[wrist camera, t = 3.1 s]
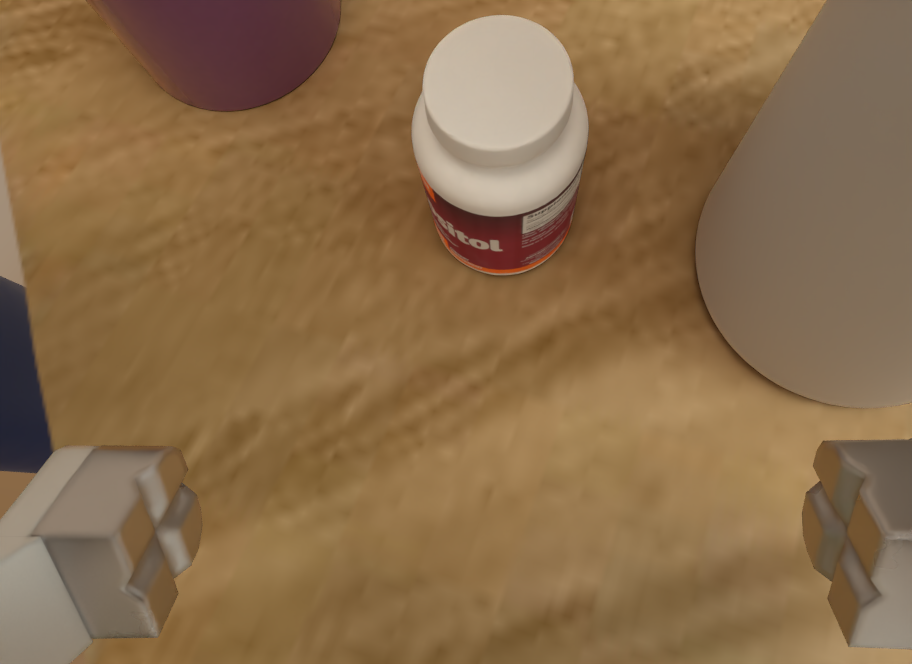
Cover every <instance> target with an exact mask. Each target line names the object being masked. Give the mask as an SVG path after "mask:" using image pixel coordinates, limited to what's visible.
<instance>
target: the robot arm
mask: <svg viewBox="0 0 912 664" xmlns="http://www.w3.org/2000/svg"><path fill="white" fill-rule="evenodd" d="M813 467H814V469H815V471H816V473H817V475H818V477H819V479H820V481H819V482H818V483H817V484H816V485H815V486H813V487H812V488H811V489H810V490H809V491H807V492H806V496H805V501H804V505H803V510H802V524H803V537H804V541H805V545H806V549H807V552H808V555H809V557H810V559H811V562H812V564H813V567H814V569H816V570H817V571H818V572H820V573H821V574H822V575H824V576H825V577H826V578H828V579H829V580H830V581H832V584H831V588H830V591H829V595H828V598H827V599H828V601H829V603H830V606H831V608H832V610H833V612H834V615H835V617H836V619H837V621H838V624H839V626H840V628H841V630H842V633H843V635H844V637H845V639H846V642H847V644H848V646H849V647H865V648H890V649H912V438H911V439H909V440H904V439H902V440H836V441H823V442H822V443H821V445H820V446H819V448H818V449H817V452H816V455H815V459H814V463H813ZM187 471H188V467H187V465H186V462H185V460H184V457H183V454H182V452H181V450H179V449H177V448H174V447H172V446H106V445H102V446H64V447H62V448H60V449H58V450H56V451H54V453H53V454H52V455H51V456H50V458H49V459H48V460H47V461H46V463H45V464H44V465H43V466H42V468H41V469H40V470H39V471H38V473H37V474H36V476H35V477H34V478H33V479H32V480H31V482H30V483H29V484H28V485H27V487H26V488H25V489H24V490H23V492H22V493H21V494H20V496H19V497H18V498H17V499H16V501H15V502H14V503H13V504H12V506H11V507H10V508H9V510H8V511H7V512H6V513H5V515H4V516H3V517H2V518H1V520H0V664H70V663H71V662H72V661H73V660H74V659H75V658H76V657H77V656H78V655H80V654H81V653H82V652H83V651H84V650H85V649H86V648H87V647H88V646H89V645H90V644H92V642H93V640H92V639H97V638H158V637H159V634H160V632H161V630H162V628H163V626H164V624H165V621H166V619H167V617H168V615H169V613H170V611H171V608H172V606H173V604H174V602H175V600H176V598H177V595H178V591H177V588H176V585H175V582H174V580H173V579H174V578H176V577H177V576H178V575H179V574H181V573H182V572H183V571H185V570H186V569H187V568H188V567H190V566H191V565H192V562H193V560H194V558H195V555H196V553H197V551H198V548H199V544H200V538H201V532H202V526H203V525H202V514H201V507H200V504H199V501H198V497H197V495H196V494H195V493H194V492H193V491H191V490H190V489H189V488H188V487H187V486H185V485H184V484H183V483H182V481H183V479H184V477H185V475H186V473H187Z"/></svg>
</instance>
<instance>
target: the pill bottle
mask: <svg viewBox="0 0 912 664" xmlns="http://www.w3.org/2000/svg"><path fill="white" fill-rule="evenodd" d="M588 133H589V124H588V115H587V109H586V106H585V102H584V99H583V97H582V95H581V93H580V91H579V89H578V87H577V85H576V84H575V83H574V75H573V69H572V64H571V61H570V58H569V56H568V54H567V52H566V50H565V48H564V46H563V45H562V44H561V42H560V41H559V40H558V39H557V38H556V37H555V36H554V35H553V34H552V33H551V32H550V31H548V30H547V29H546V28H544V27H543V26H541V25H540V24H538V23H535V22H533V21H530V20H528V19H525V18H522V17H517V16H511V15H492V16H486V17H481V18H477V19H474V20H472V21H469V22H467V23H465V24H463V25H461V26H459V27H457V28H456V29H454V30H453V31H451V32H450V33H449V34H448V35H446V36H445V37H444V38H443V39H442V40H441V41H440V43H439V44H438V45H437V46H436V47H435V49H434V50H433V52H432V54H431V55H430V57H429V59H428V62H427V64H426V67H425V71H424V76H423V91H422V93H421V95H420V97H419V99H418V101H417V104H416V107H415V110H414V114H413V119H412V144H413V150H414V154H415V158H416V162H417V165H418V168H419V172H420V175H421V178H422V181H423V185H424V188H425V193H426V195H427V198H428V202H429V205H430V209H431V212H432V216H433V219H434V223H435V226H436V229H437V232H438V234H439V236H440V238H441V240H442V242H443V243H444V245H445V246H446V248H447V249H448V250H449V252H450V253H451V254H452V255H453V256H454V257H455V258H456V259H457V260H459V261H460V262H461V263H463V264H464V265H466V266H468V267H470V268H472V269H474V270H477V271H479V272H483V273H487V274H492V275H513V274H519V273H523V272H526V271H528V270H531V269H533V268H535V267H537V266H539V265H540V264H542V263H543V262H545V261H546V260H547V259H549V258H550V257H551V256H552V255H553V254H554V253H555V252H556V251H557V250H558V248H559V247H560V246H561V244H562V243H563V241H564V239H565V237H566V235H567V233H568V231H569V229H570V225H571V222H572V218H573V213H574V208H575V203H576V198H577V193H578V188H579V183H580V178H581V173H582V168H583V163H584V158H585V154H586V150H587V143H588Z"/></svg>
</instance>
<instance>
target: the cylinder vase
mask: <svg viewBox="0 0 912 664" xmlns="http://www.w3.org/2000/svg"><path fill="white" fill-rule="evenodd" d="M695 257H696V269H697V276H698V281H699V285H700V289H701V292H702V296H703V299H704V301H705V304H706V306H707V309H708V311H709V313H710V315H711V317H712V319H713V321H714V322H715V324H716V326H717V327H718V329H719V331H720V332H721V334H722V335H723V336H724V338H725V339H726V340H727V342H728V343H729V344H730V345H731V346H732V348H733V349H734V350H735V351H736V352H737V353H738V354H739V355H740V356H741V357H742V358H743V359H744V360H745V361H746V362H747V363H748V364H749V365H751V366H752V367H753V368H754V369H755V370H757V371H758V372H759V373H761V374H762V375H764V376H765V377H766V378H768V379H769V380H771V381H773V382H774V383H776V384H778V385H780V386H781V387H783V388H785V389H787V390H789V391H792V392H794V393H796V394H798V395H801V396H803V397H806V398H809V399H812V400H815V401H819V402H823V403H827V404H831V405H837V406H843V407H852V408H882V407H891V406H897V405H903V404H907V403H911V402H912V0H826V2H825V4H824V5H823V7H822V9H821V10H820V12H819V14H818V15H817V17H816V19H815V20H814V22H813V24H812V25H811V27H810V28H809V30H808V32H807V33H806V35H805V37H804V38H803V40H802V42H801V43H800V45H799V47H798V48H797V50H796V51H795V53H794V55H793V56H792V58H791V60H790V61H789V63H788V65H787V66H786V68H785V70H784V71H783V73H782V75H781V76H780V78H779V79H778V81H777V83H776V84H775V86H774V88H773V89H772V91H771V93H770V94H769V96H768V98H767V99H766V101H765V103H764V104H763V106H762V107H761V109H760V111H759V112H758V114H757V116H756V117H755V119H754V121H753V122H752V124H751V126H750V127H749V129H748V130H747V132H746V134H745V135H744V137H743V139H742V140H741V142H740V144H739V145H738V147H737V149H736V150H735V152H734V154H733V155H732V157H731V158H730V160H729V162H728V163H727V165H726V167H725V168H724V170H723V172H722V173H721V175H720V177H719V178H718V180H717V181H716V183H715V185H714V186H713V188H712V190H711V192H710V194H709V196H708V198H707V200H706V202H705V205H704V207H703V210H702V213H701V216H700V220H699V224H698V229H697V236H696V247H695Z"/></svg>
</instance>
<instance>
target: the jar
mask: <svg viewBox="0 0 912 664" xmlns="http://www.w3.org/2000/svg"><path fill="white" fill-rule="evenodd" d="M86 2H87V3H88V4H89V5H90V6H91V7H92V9H93V10H94V11H95V12H96V13H97V14H98V16H99V17H100V18H101V19H102V20H103V21H104V23H105V24H106V25H107V26H108V27H109V28H110V30H111V31H112V32H113V33H114V34H115V35H116V37H117V38H118V39H119V40H120V41H121V42H122V44H123V45H124V46H125V47H126V48H127V49H128V51H129V52H130V53H131V54H132V55H133V56H134V58H135V59H136V60H137V61H138V62H139V63H140V65H141V66H142V67H143V68H144V69H145V70H146V72H147V73H148V74H149V75H150V76H151V77H152V79H153V80H154V81H155V82H156V83H157V84H158V85H159V86H160V87H161V88H162V89H163V90H164V91H166V92H167V93H169V94H170V95H171V96H173V97H174V98H176V99H178V100H180V101H182V102H184V103H186V104H189V105H192V106H195V107H198V108H203V109H208V110H215V111H236V110H244V109H249V108H254V107H257V106H261V105H264V104H267V103H269V102H272V101H274V100H276V99H278V98H280V97H282V96H284V95H286V94H287V93H289V92H291V91H292V90H294V89H295V88H296V87H298V86H299V85H300V84H302V83H303V82H304V81H305V80H306V79H307V78H308V77H309V76H310V75H311V74H312V73H313V72H314V71H315V70H316V69H317V68H318V66H319V65H320V64H321V63H322V61H323V60H324V58H325V57H326V55H327V53H328V52H329V50H330V48H331V46H332V43H333V41H334V39H335V36H336V33H337V29H338V26H339V20H340V7H341V2H340V0H86Z"/></svg>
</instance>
